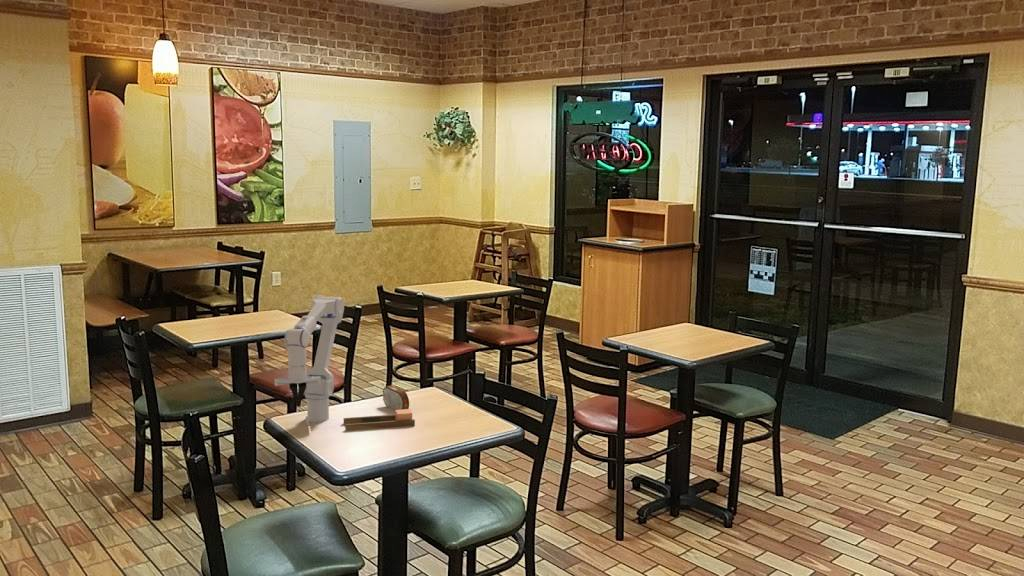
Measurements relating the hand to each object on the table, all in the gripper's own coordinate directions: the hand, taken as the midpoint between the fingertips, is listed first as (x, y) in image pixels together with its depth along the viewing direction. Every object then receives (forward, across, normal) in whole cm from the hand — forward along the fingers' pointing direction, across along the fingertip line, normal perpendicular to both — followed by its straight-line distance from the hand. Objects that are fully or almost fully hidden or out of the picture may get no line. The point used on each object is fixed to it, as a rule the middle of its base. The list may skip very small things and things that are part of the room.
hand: (298, 405), depth 266 cm
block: (+9, +35, +2) cm, 36 cm away
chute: (+10, +26, +2) cm, 28 cm away
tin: (+10, +35, +21) cm, 42 cm away
